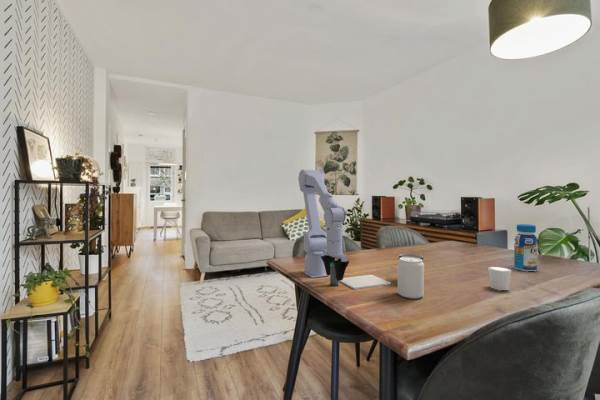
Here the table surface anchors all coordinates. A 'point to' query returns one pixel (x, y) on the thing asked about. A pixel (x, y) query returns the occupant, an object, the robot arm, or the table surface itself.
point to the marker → (333, 275)
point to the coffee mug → (411, 256)
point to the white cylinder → (499, 278)
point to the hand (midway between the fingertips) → (334, 277)
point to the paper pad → (364, 281)
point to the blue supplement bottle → (525, 248)
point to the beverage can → (411, 277)
